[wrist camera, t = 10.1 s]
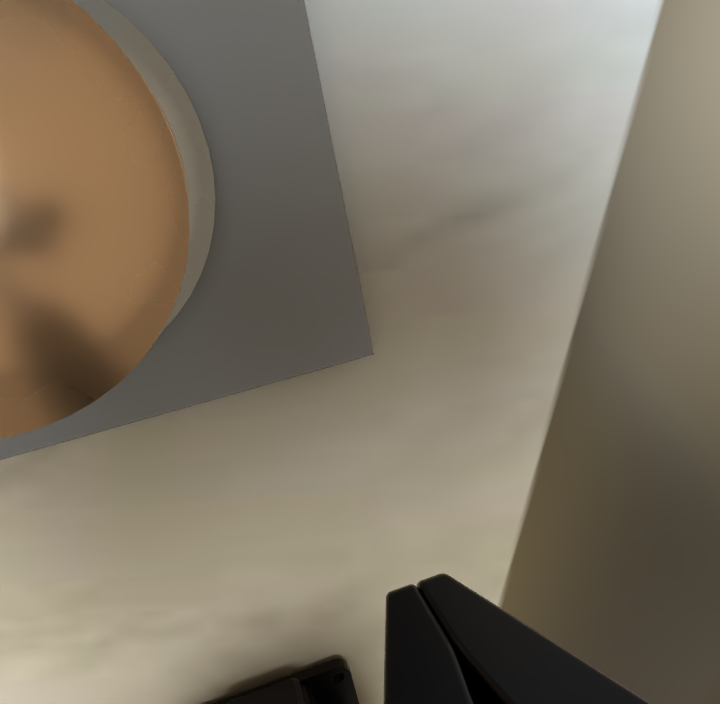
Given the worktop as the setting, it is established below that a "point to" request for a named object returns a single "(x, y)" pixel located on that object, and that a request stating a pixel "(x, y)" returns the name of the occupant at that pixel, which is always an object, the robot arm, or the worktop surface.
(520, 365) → the worktop surface
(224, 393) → the mat
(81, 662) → the worktop surface
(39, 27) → the door handle
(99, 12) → the white disc
